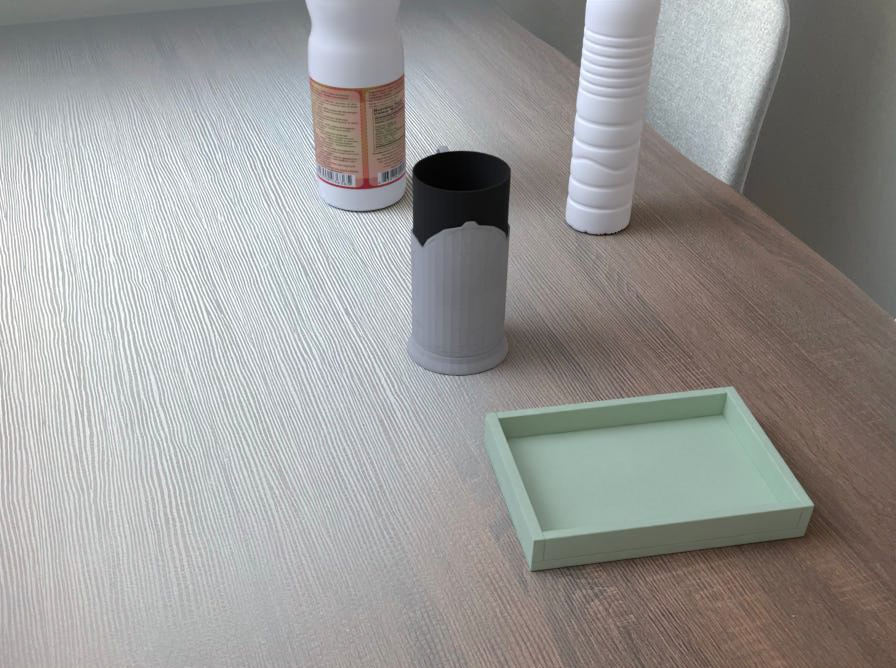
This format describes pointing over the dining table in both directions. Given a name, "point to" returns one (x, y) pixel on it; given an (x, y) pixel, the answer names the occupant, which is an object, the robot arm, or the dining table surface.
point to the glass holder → (459, 261)
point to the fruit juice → (357, 102)
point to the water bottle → (610, 112)
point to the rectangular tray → (641, 478)
